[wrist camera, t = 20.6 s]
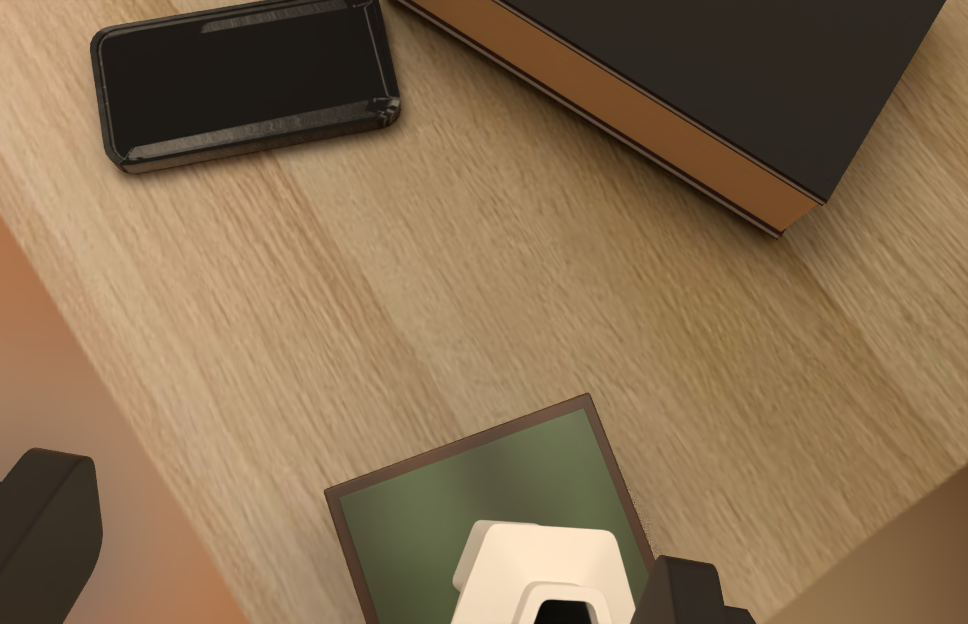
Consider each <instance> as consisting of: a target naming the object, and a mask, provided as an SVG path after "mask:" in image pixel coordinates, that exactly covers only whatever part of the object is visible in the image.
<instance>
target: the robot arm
mask: <svg viewBox="0 0 968 624" xmlns="http://www.w3.org/2000/svg"><path fill="white" fill-rule="evenodd" d="M102 537H103V530H102V520H101V513H100V504H99V496H98V489H97V480H96V471H95V465H94V462H93V460H92V459H91V458H90V457H87V456H82V455H76V454H70V453H64V452H59V451H52V450H47V449H42V448H32V449H30V450H28V451H27V452H26V453H25V454H24V455H23V456H22V457H21V458H20V460H19V461H18V462H17V463H16V465H15V466H14V467H13V468H12V470H11V471H10V472H9V473H8V475H7V476H6V477H5V478H4V480H3V481H2V482H0V624H63V622H64V620H65V619H66V617H67V615H68V613H69V612H70V610H71V608H72V607H73V605H74V603H75V602H76V600H77V598H78V596H79V595H80V593H81V591H82V590H83V588H84V586H85V585H86V583H87V581H88V579H89V578H90V576H91V574H92V572H93V570H94V568H95V565H96V563H97V560H98V557H99V553H100V549H101V544H102ZM630 624H756V623H755V621H754V619H753V618H752V616H751V615H750V613H749V612H748V610H747V609H742V608H736V607H730V606H724V601H723V596H722V591H721V586H720V581H719V576H718V572H717V570H716V568H715V566H714V565H713V564H710V563H704V562H699V561H693V560H687V559H681V558H676V557H670V556H664V555H660V556H659V557H658V558H657V560H656V561H655V564H654V566H653V568H652V571H651V573H650V576H649V578H648V580H647V583H646V585H645V588H644V590H643V592H642V595H641V597H640V600H639V602H638V604H637V607H636V609H635V612H634V614H633V616H632V619H631V622H630Z"/></svg>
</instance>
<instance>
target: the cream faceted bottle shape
mask: <svg viewBox="0 0 968 624" xmlns="http://www.w3.org/2000/svg"><path fill="white" fill-rule="evenodd" d="M452 582H453V585H454V587H455V588H456V589H457V590H458V591H459V592H461V593H460V596H459V599H458V602H457V605H456V609H455V612H454V615H453V618H452V621H451V624H630V622H631V619H632V616H633V614H634V612H635V605H634V602H633V598H632V595H631V591H630V587H629V584H628V580H627V576H626V573H625V569H624V566H623V562H622V558H621V555H620V551H619V547H618V544H617V541H616V539H615V537H614V535H613V534H612V533H610V532H609V531H605V530H596V529H581V528H566V527H551V526H539V525H538V524H534V523H520V522H505V521H489V520H479V521H477V522H475V524H474V525H473V527H472V530H471V532H470V535H469V538H468V540H467V543H466V545H465V548H464V551H463V553H462V556H461V558H460V561H459V563H458V566H457V569H456V571H455V574H454V576H453V581H452Z"/></svg>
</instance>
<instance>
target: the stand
mask: <svg viewBox="0 0 968 624" xmlns="http://www.w3.org/2000/svg"><path fill="white" fill-rule="evenodd" d="M324 495H325V498H326V501H327V504H328V507H329V510H330V513H331V516H332V519H333V522H334V526H335V529H336V532H337V535H338V538H339V541H340V544H341V547H342V550H343V553H344V556H345V559H346V563H347V566H348V569H349V572H350V575H351V578H352V581H353V584H354V587H355V590H356V593H357V596H358V599H359V603H360V606H361V609H362V612H363V615H364V618H365V621H366V624H451V621H452V618H453V615H454V612H455V609H456V605H457V602H458V599H459V596H460V593H461V592H459V591H458V590H457V589H456V588H455V587H454V585H453V582H452V581H453V576H454V574H455V571H456V569H457V566H458V563H459V561H460V558H461V556H462V553H463V551H464V548H465V545H466V543H467V540H468V538H469V535H470V532H471V530H472V527H473V525H474V524H475V522H477V521H479V520H489V521H505V522H520V523H534V524H538V525H539V526H551V527H566V528H581V529H596V530H605V531H609V532H610V533H612V534H613V535H614V537H615V539H616V541H617V544H618V547H619V551H620V555H621V558H622V562H623V566H624V569H625V573H626V576H627V580H628V584H629V587H630V591H631V595H632V598H633V602H634V605H635V609H636V607H637V604H638V602H639V600H640V597H641V595H642V592H643V590H644V588H645V585H646V583H647V580H648V578H649V576H650V573H651V571H652V568H653V566H654V564H655V558H654V556H653V553H652V551H651V548H650V546H649V543H648V541H647V538H646V535H645V533H644V530H643V528H642V525H641V523H640V520H639V518H638V515H637V512H636V510H635V507H634V505H633V502H632V500H631V497H630V495H629V492H628V490H627V487H626V484H625V482H624V479H623V477H622V474H621V472H620V469H619V467H618V464H617V462H616V459H615V456H614V454H613V451H612V449H611V446H610V444H609V441H608V439H607V436H606V434H605V431H604V428H603V426H602V423H601V421H600V418H599V416H598V413H597V411H596V408H595V405H594V403H593V400H592V398H591V395H590V394H589V393H585V394H582V395H579V396H577V397H574V398H571V399H569V400H566V401H563V402H560V403H558V404H555V405H552V406H550V407H547V408H544V409H541V410H539V411H536V412H533V413H531V414H528V415H525V416H523V417H520V418H517V419H514V420H512V421H509V422H506V423H504V424H501V425H498V426H495V427H493V428H490V429H487V430H485V431H482V432H479V433H476V434H474V435H471V436H468V437H466V438H463V439H460V440H457V441H455V442H452V443H449V444H447V445H444V446H441V447H438V448H436V449H433V450H430V451H428V452H425V453H422V454H419V455H417V456H414V457H411V458H409V459H406V460H403V461H400V462H398V463H395V464H392V465H390V466H387V467H384V468H381V469H379V470H376V471H373V472H371V473H368V474H365V475H362V476H360V477H357V478H354V479H352V480H349V481H346V482H343V483H341V484H338V485H335V486H333V487H330V488H327V489H325V490H324Z"/></svg>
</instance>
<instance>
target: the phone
mask: <svg viewBox="0 0 968 624" xmlns="http://www.w3.org/2000/svg"><path fill="white" fill-rule="evenodd" d="M90 53H91V60H92V67H93V74H94V81H95V88H96V95H97V102H98V109H99V116H100V123H101V129H102V136H103V143H104V149H105V152H106V155H107V156H108V157H109V158H110V160H111V161H112V162H113V163H114V164H115V165H116V166H117V167H118V168H120V169H121V170H123V171H124V172H128V173H142V172H147V171H153V170H158V169H164V168H169V167H174V166H180V165H185V164H191V163H196V162H201V161H207V160H212V159H218V158H223V157H228V156H234V155H239V154H245V153H250V152H255V151H261V150H266V149H272V148H277V147H282V146H288V145H293V144H299V143H304V142H309V141H315V140H320V139H326V138H331V137H336V136H342V135H347V134H353V133H358V132H363V131H369V130H374V129H380V128H384V127H387V126H390V125H391V124H392V123H394V122H395V121H396V119H397V118H398V117H399V114H400V110H401V108H400V95H399V90H398V86H397V81H396V77H395V72H394V67H393V63H392V58H391V54H390V49H389V45H388V40H387V36H386V31H385V27H384V22H383V18H382V13H381V9H380V4H379V0H264V1H258V2H252V3H246V4H240V5H234V6H228V7H222V8H216V9H210V10H204V11H198V12H192V13H186V14H180V15H174V16H168V17H162V18H156V19H150V20H144V21H138V22H132V23H126V24H120V25H114V26H109V27H106V28H103V29H101V30H100V31H98V32H97V33H96V34H95V36H94V37H93V38H92V41H91V43H90Z"/></svg>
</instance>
